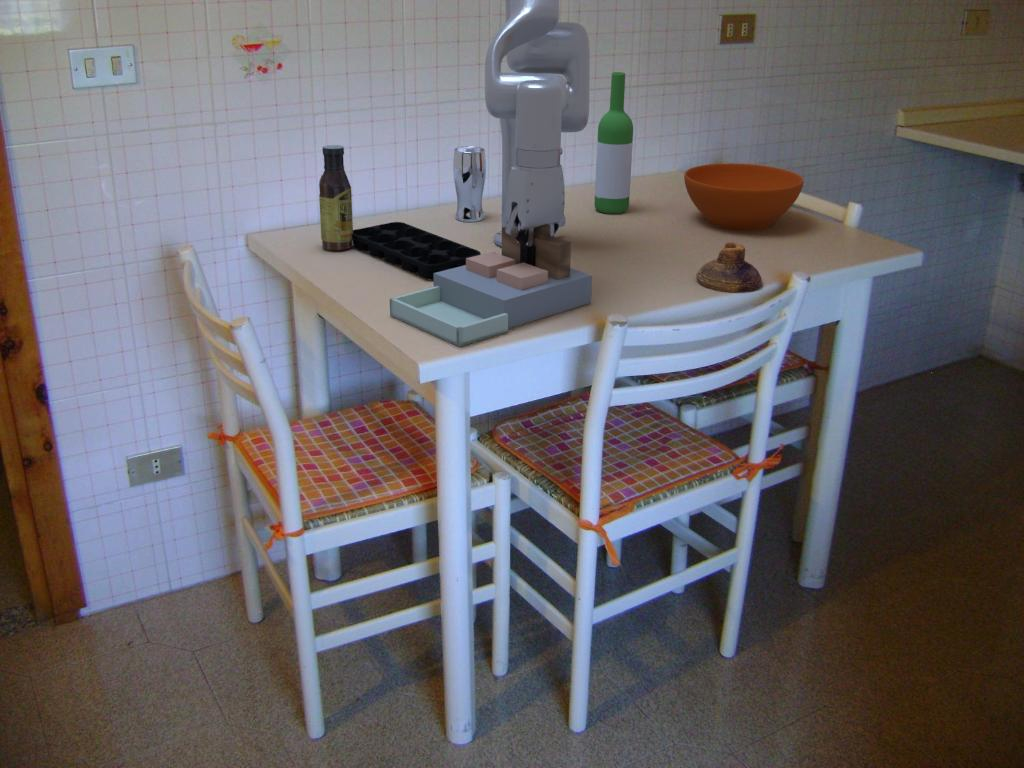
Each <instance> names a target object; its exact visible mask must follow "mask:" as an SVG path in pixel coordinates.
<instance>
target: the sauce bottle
mask: <svg viewBox="0 0 1024 768" xmlns="http://www.w3.org/2000/svg"><path fill="white" fill-rule="evenodd" d="M322 155H323V165H324V166H323V169H324V171H323V173H322V174H321V176H320V178H319V181H318V182H319V184H318V189H319V190H318V191H319V195H318V196H319V197H318V200H319V218H320V221H319V222H320V238H321V240H322V242H321V244H322V247H323V249H324V250H327V251H333V252H334V251H335V252H339V251H346V250H348V249H349V250H350V249H351V248H352V247H353V239H352V233H353V230H354V225H353V224H354V223H353V220H354V219H353V199H352V198H353V197H352V196H353V195H352V186H351V184H350V181H349V178H348V175H347V173H346V171H345V165H344V155H345V149H344V146H343V145H339V144H330V145H324V146H322Z"/></svg>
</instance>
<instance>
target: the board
mask: <svg viewBox="0 0 1024 768" xmlns="http://www.w3.org/2000/svg"><path fill="white" fill-rule="evenodd" d="M592 279H593V275H592V274H590V273H587V272H585V271H580V270H578V269H575V268H573V267H570V276H569V277H565V278H562V279H558V280H556V279H554V278H551V277H548V283H544V284H541V285H537V286H534V287H530V288H527V289H523V290H519V289H517V288H514V287H511V286H509V285H506V284H503V283H501V282H498V281H497V276H495V277H491V278H487V277H484V276H482V275H479V274H476V273H474V272H471V271H468V270H466V265H464V266H460V267H456V268H452V269H448V270H444V271H440V272H436V273H434V280H433V287H435V286H439V287H440V301H442V302H444V303H447V304H449V305H451V306H454V307H456V308H459V309H461V310H463V311H466V312H468V313H471V314H473V315H476V316H478V317H480V318H483V319H487V318H490V317H493V316H497V315H500V314H503V313H507V314H508V330H510V329H511V328H515V327H518V326H521V325H524V324H527V323H531V322H534V321H537V320H540V319H543V318H546V317H549V316H553V315H557V314H559V313H562V312H567V311H570V310H573V309H576V308H578V307H581V306H585V305H588V304H591V303H592V302H591V301H592V284H593V283H592V281H593V280H592Z"/></svg>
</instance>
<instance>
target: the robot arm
mask: <svg viewBox="0 0 1024 768" xmlns="http://www.w3.org/2000/svg"><path fill="white" fill-rule="evenodd" d="M504 3H505V23H504V24H503V25H502V26H501V27H500V28H499V29H498V31H496V33H495V35H494V36H493V38H492V39H491V42H490V44H489V45H488V48H487V51H486V54H485V62H484V101H485V107H486V109H487V112H488V114H490V115H491V116H492V117H494V118H496V119H499V123H500V124H499V125H500V132H501V154H502V155H501V156H502V157H501V158H502V159H501V161H502V162H501V164H502V165H501V166H502V167H501V171H502V172H501V228H502V227H506V226H507V227H506V230H505V232H506V233H507V234H509V235H511V236H514V237H515V239H516V240H517V242H518V243H519V244H520V263H526V264H529V265H532V266H535V251H536V248H535V246H534V245H533V239H534V228H536V227H539V226H543V225H547V224H548V225H551V228H550V236H554V237H557V236H556V233H557V231H558V230H559V228H562V227H565V225H566V219H567V218H566V215H565V203H566V201H565V199H566V198H565V195H566V194H565V181H564V172H563V165H562V164H561V155H562V154H563V148H562V147H561V146H562V133H578V132H582V131H583V130H584V129H585V128H586V126H587V125H588V121H589V117H590V79H591V78H590V75H591V74H590V73H591V72H590V64H591V62H590V61H591V60H590V58H591V57H590V56H591V55H590V50H591V49H590V40H589V34H588V32H587V30H586V28H585V27H584V26H583V25H582V24H580V23H578V22H570V21H565V22H564V21H560V0H505V2H504ZM504 58H506V62H507V66H508V68H509V69H510V70H511V71H512V72H502V71H501V68H502V67H501V66H502V62H503V59H504ZM517 227H518V229H517ZM525 231H527V236H526V234H525ZM493 243H494V244H496V245H497V246H498V247H501V248H502V230H500V231H497V232H496V233H495V234H493Z"/></svg>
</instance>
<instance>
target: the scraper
mask: <svg viewBox="0 0 1024 768" xmlns="http://www.w3.org/2000/svg"><path fill="white" fill-rule="evenodd" d="M506 227H507V226H506ZM506 227H502V226H501V231H502V247H501V255H503V256H506V257H509V258H512V259H515V265H516V264H520V244H519V243H518V242H517V240H516V239H515V237H514V236H511V235H509V234H507V233H506V232H505V230H506ZM550 228H551V225H548V224H547V225H543V226H539V227H536V228H534V239H533V245H534V246H535V248H536V251H535V267H538V268H541V269H544V270H546V271H548V277H551V278H554V279H556V280H558V279H562V278H565V277H569V276H570V268H571V255H572V241H569V240H566V239H563V238H560V237H557V236H556V237H554V236H550ZM517 229H518V227H517ZM525 234H526V236H527V231H525Z"/></svg>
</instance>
